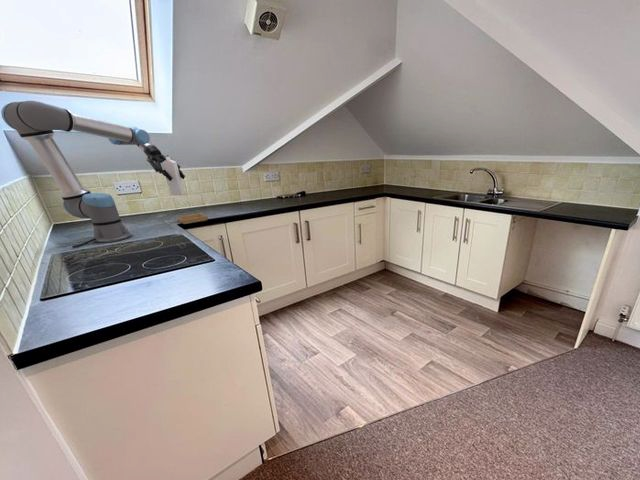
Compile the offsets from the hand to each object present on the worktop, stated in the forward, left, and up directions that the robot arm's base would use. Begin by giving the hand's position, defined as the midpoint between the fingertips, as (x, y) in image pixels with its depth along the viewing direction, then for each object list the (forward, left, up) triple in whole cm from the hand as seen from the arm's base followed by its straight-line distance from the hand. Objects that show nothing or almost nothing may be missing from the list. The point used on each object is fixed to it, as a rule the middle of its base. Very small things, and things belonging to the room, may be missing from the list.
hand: (177, 178), depth 181 cm
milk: (-1, +3, -10) cm, 10 cm away
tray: (+3, +2, -27) cm, 27 cm away
